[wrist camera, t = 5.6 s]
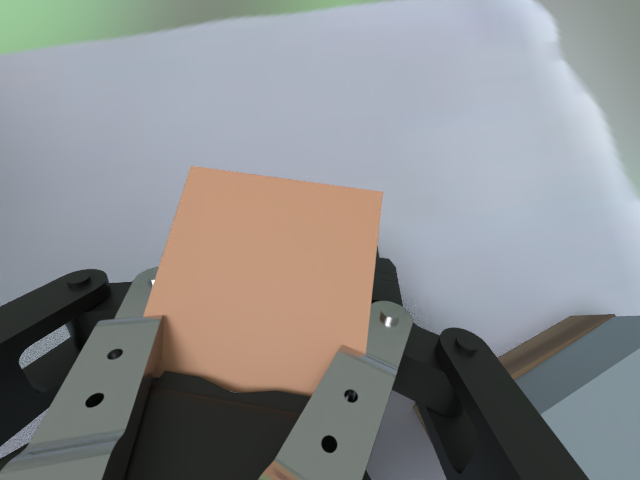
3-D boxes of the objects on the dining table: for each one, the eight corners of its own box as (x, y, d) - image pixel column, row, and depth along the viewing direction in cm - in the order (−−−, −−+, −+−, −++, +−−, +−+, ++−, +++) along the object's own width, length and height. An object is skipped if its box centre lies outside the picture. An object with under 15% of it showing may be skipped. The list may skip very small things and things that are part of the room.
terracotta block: (246, 345, 16) (125, 372, 6) (265, 256, 17) (190, 165, 8) (338, 360, 16) (358, 414, 6) (350, 268, 17) (382, 192, 7)
